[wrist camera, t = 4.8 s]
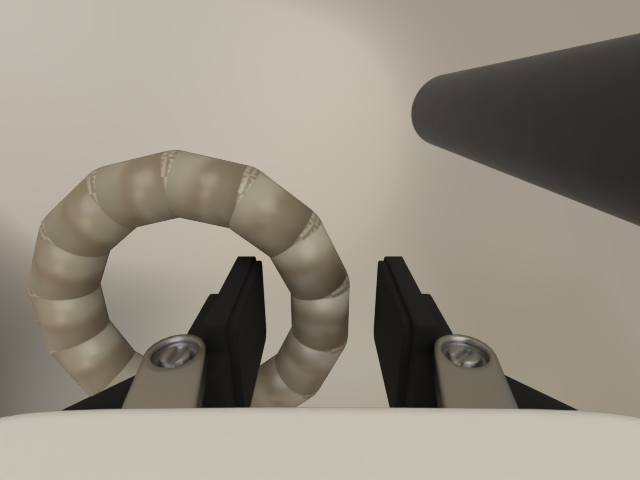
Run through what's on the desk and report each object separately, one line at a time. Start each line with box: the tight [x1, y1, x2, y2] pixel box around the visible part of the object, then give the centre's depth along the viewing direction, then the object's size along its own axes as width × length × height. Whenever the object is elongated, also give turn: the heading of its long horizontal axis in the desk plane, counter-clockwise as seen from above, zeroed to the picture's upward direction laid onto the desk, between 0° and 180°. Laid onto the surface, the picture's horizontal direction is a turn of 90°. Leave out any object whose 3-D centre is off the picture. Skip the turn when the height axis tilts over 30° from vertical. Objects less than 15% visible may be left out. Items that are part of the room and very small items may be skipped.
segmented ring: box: [27, 150, 349, 408], centre depth 11 cm, size 10×10×2 cm
